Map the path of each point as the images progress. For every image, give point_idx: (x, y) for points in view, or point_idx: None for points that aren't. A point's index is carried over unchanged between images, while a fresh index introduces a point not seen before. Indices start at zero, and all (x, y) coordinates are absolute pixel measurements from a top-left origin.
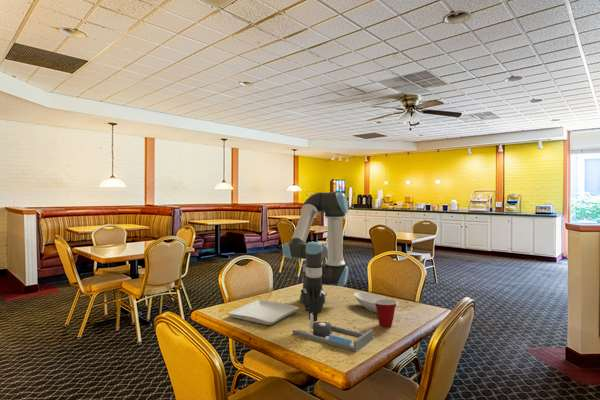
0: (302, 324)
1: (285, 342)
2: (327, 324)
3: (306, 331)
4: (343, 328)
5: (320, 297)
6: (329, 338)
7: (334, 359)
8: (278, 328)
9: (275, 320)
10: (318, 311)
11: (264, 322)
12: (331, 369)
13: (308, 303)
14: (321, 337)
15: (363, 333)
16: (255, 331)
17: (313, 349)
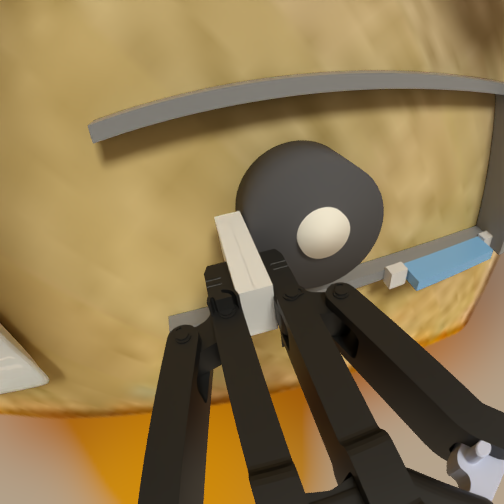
0: (66, 196)
1: None
2: (352, 197)
3: None
4: (397, 76)
5: (446, 451)
6: (408, 278)
7: (436, 312)
8: (67, 336)
9: (29, 360)
10: (353, 336)
11: (19, 377)
12: (438, 340)
13: (195, 404)
14: (359, 279)
15: (490, 83)
16: (68, 399)
17: None
